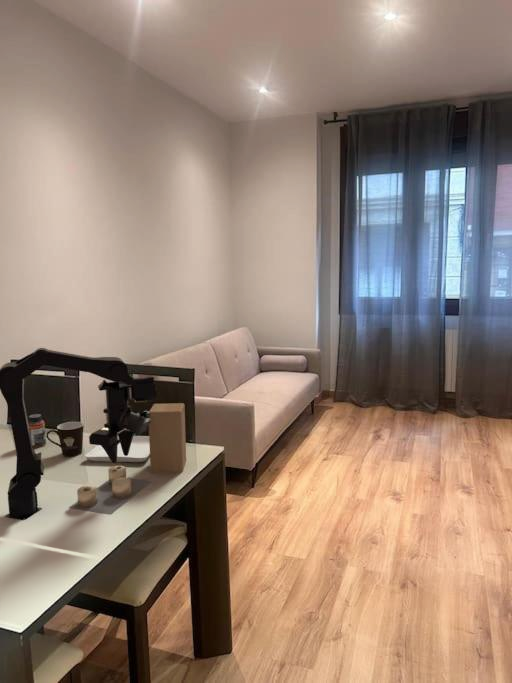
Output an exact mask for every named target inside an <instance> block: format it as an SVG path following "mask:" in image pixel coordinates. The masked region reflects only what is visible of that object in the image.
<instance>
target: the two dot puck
mask: <svg viewBox="0 0 512 683" xmlns="http://www.w3.org/2000/svg"><path fill="white" fill-rule="evenodd" d="M107 470H108V480H109V484H110V485H112V481H113V480H115V479H118V478H127V467H126V466H123V465H115V466H111V467H110V468H108V469H107Z"/></svg>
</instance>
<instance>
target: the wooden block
mask: <svg viewBox="0 0 512 683" xmlns="http://www.w3.org/2000/svg"><path fill="white" fill-rule="evenodd" d="M185 407H186V406H185V403H183V402H179V403H178V402H177V403H169V402H168V403H153V404H152V407H151V408H150V409H149V411H148V412H149V413H150V421H151V423H150V424H148V436H149V443H150V455H149V461H150V462H149V463H150V464H149V465H150V473H151V474H168V473H170V474H171V473H172V474H173V473H183V472H184V470H185V467H186V462H187V442H186V440H187V439H186V416H185V415H186V412H185V411H186V410H185Z"/></svg>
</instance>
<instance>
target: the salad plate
mask: <svg viewBox="0 0 512 683" xmlns="http://www.w3.org/2000/svg"><path fill="white" fill-rule="evenodd" d="M117 437H118V435H117ZM118 440H119V437H118ZM84 458H85V459H87V460H88V461H92V462H107V463H108V462H110V463H112V461H111V460H110V458H109V456H108V455H107V453H106V452H105V450H104V449H103V447H102V446H101V445H95V447H94V448H92V449H90V451H89V452H88V453H86V454H85V455H84ZM148 458H150V443H149V435H147V436H146V435H134V436H133V439H132V442H131V446H130V450H129V454H128V455H127V456H125V455H124V454H123V451H122V448H121V444H120V443H119V444H118V446H117V462H116V463H119V462H120V463H142V462H145V461H147V459H148Z"/></svg>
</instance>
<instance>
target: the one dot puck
mask: <svg viewBox="0 0 512 683" xmlns="http://www.w3.org/2000/svg"><path fill="white" fill-rule="evenodd" d="M97 488H98V486H96V485H93V484H92V485H91V484H90V485H89V484H88V485H84V486H81V487H78V489H77V490H76V492H77V501H78V506H79V507H81V508H89V507H92V506H95V505H96V504H97V503H98V497H97Z"/></svg>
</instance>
